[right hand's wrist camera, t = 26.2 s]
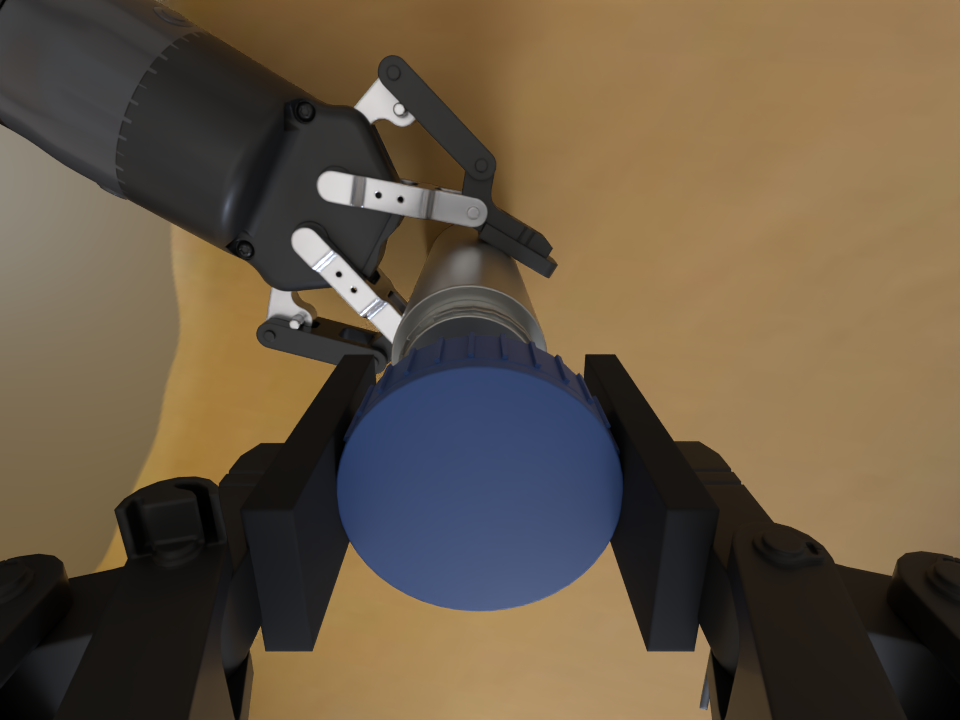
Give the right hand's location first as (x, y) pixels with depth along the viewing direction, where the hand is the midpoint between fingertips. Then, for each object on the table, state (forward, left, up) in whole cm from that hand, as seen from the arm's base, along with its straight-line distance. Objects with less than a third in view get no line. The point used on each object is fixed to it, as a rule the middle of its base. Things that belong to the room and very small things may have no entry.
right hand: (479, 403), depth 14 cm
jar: (0, 0, -18) cm, 18 cm away
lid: (0, 0, +4) cm, 4 cm away
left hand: (-2, +2, -12) cm, 12 cm away
